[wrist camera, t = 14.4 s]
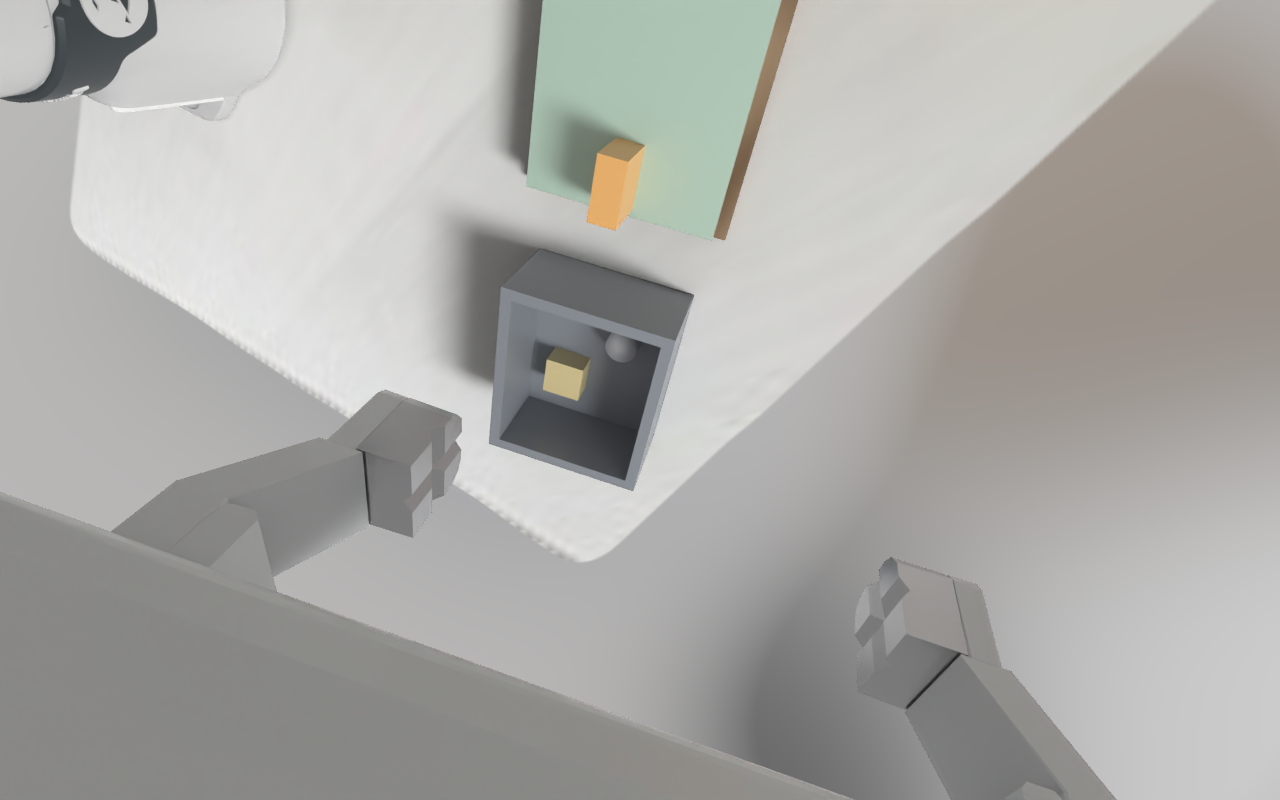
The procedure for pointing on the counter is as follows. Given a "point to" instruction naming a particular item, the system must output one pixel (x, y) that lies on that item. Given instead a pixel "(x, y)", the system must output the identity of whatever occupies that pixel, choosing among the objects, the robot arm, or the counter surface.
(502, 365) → the tub
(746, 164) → the pad
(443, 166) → the counter surface
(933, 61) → the counter surface
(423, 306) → the counter surface
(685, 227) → the lid
